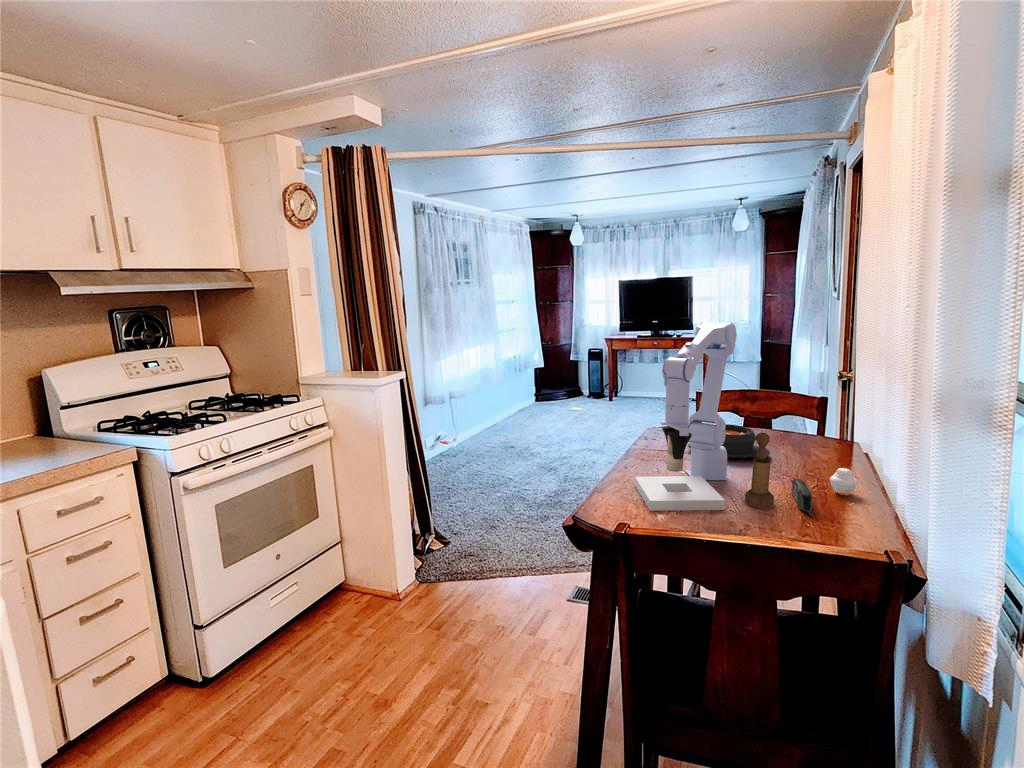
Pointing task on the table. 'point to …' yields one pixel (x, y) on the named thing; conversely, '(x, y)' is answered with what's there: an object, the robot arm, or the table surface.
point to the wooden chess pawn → (760, 477)
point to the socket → (678, 493)
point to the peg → (672, 463)
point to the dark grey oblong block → (802, 495)
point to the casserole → (740, 442)
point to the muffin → (843, 481)
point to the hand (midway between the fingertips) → (675, 456)
